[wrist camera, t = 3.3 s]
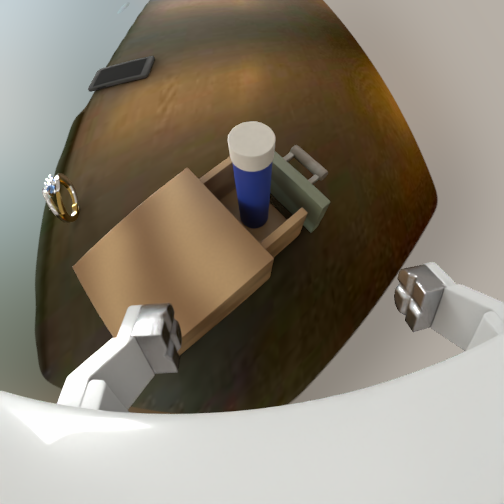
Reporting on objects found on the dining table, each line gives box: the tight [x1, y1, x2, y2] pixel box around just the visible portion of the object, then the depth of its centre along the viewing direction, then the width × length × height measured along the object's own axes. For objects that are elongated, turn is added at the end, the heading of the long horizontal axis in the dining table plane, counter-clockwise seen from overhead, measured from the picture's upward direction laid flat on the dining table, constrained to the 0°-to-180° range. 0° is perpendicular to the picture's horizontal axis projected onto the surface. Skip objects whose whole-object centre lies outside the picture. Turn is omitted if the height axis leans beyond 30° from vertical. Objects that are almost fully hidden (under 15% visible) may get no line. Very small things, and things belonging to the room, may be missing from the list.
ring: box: [42, 173, 80, 223], centre depth 32 cm, size 7×3×8 cm, turn 15°
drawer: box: [199, 145, 330, 258], centre depth 30 cm, size 19×11×7 cm, turn 132°
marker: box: [228, 122, 275, 228], centre depth 26 cm, size 3×3×14 cm
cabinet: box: [73, 168, 274, 356], centre depth 28 cm, size 16×13×9 cm
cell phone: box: [88, 56, 155, 91], centre depth 44 cm, size 7×14×1 cm, turn 91°
